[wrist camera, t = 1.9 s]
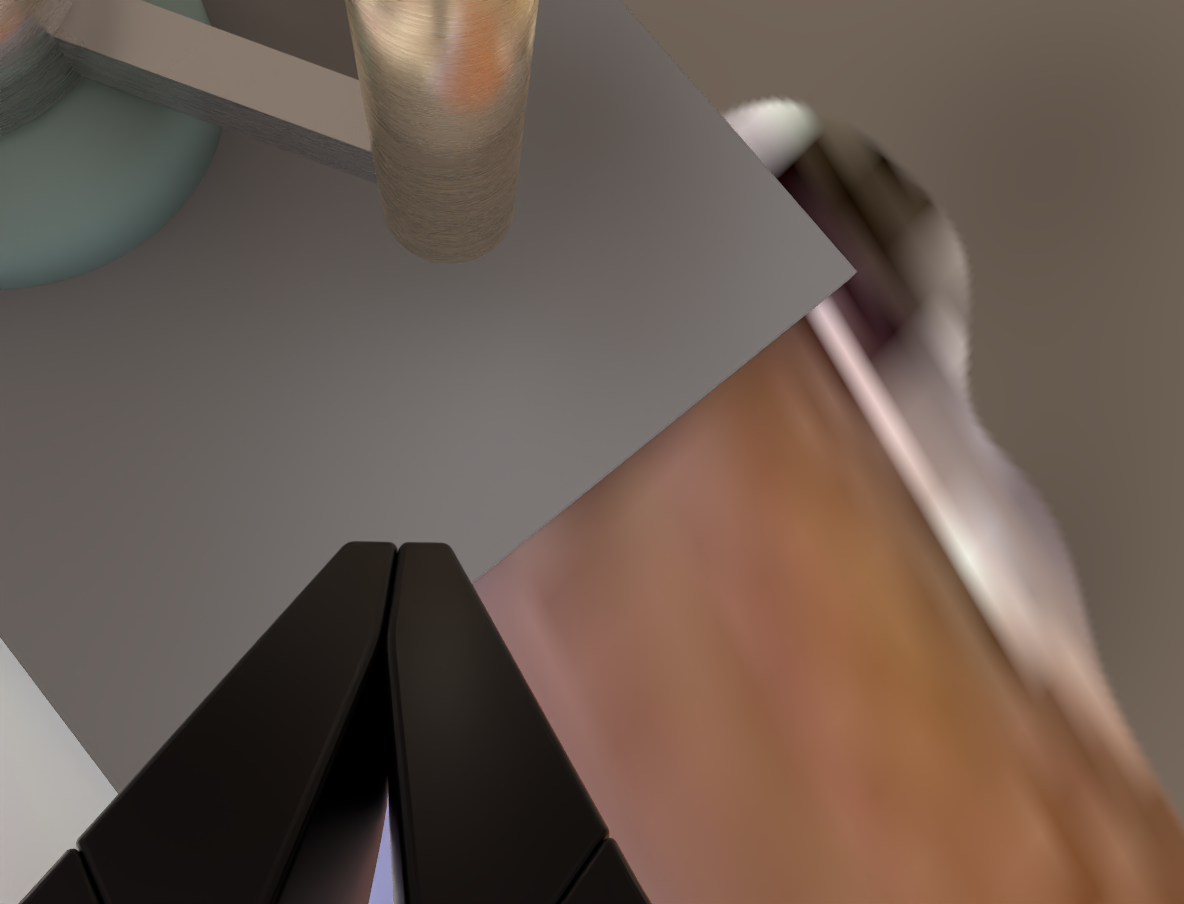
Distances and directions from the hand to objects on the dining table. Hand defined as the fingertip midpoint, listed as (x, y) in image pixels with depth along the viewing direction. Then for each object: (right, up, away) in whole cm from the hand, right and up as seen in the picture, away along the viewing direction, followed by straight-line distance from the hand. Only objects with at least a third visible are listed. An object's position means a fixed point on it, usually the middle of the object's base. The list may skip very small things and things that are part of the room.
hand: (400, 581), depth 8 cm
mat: (-6, +7, +14) cm, 16 cm away
